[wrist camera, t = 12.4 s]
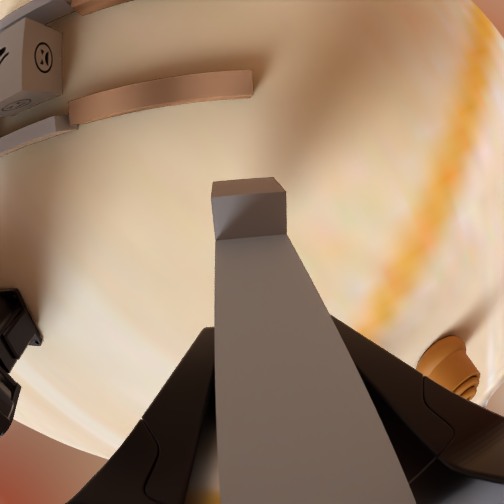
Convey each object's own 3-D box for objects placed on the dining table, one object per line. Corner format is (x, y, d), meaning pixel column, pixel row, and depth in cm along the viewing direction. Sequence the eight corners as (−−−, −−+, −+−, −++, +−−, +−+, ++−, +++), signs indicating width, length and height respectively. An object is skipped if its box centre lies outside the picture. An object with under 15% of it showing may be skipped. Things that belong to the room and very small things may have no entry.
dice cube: (62, 33, 12) (25, 17, 7) (63, 93, 14) (21, 90, 10) (13, 58, 12) (-27, 53, 7) (13, 115, 14) (-29, 120, 9)
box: (-7, 159, 15) (-30, 167, 12) (-8, 44, 10) (-29, 41, 7) (77, 129, 15) (55, 131, 13) (78, -1, 11) (60, -14, 8)
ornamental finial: (449, 323, 27) (464, 343, 29) (404, 367, 29) (425, 381, 31) (487, 368, 19) (495, 382, 22) (434, 417, 21) (451, 423, 24)
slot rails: (83, 123, 15) (69, 124, 13) (84, -1, 11) (73, -9, 9) (249, 97, 16) (253, 94, 14) (241, -30, 12) (244, -44, 10)
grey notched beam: (225, 296, 14) (249, 568, 3) (212, 181, 12) (200, 582, 1) (275, 290, 14) (352, 549, 4) (273, 177, 12) (492, 490, 1)
